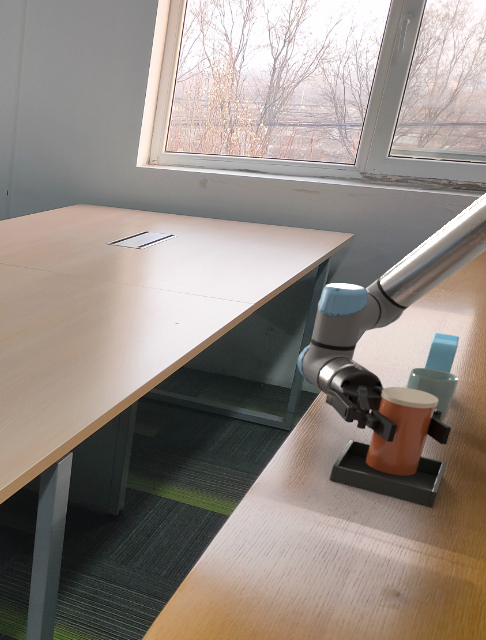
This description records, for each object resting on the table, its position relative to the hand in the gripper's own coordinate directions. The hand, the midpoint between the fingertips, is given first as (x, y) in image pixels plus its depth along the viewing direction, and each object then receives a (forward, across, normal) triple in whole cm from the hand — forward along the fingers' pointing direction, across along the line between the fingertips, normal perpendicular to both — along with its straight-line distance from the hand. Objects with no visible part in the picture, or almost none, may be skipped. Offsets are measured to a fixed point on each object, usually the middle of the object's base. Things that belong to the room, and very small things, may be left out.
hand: (419, 434), depth 120 cm
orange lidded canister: (-5, 0, -7) cm, 9 cm away
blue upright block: (-52, -32, -10) cm, 62 cm away
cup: (-33, -20, -10) cm, 40 cm away
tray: (-5, 0, -10) cm, 11 cm away
